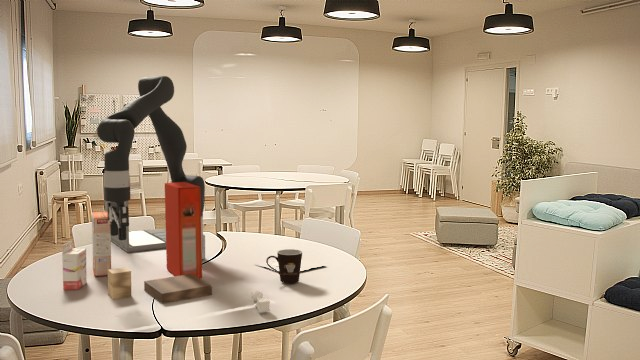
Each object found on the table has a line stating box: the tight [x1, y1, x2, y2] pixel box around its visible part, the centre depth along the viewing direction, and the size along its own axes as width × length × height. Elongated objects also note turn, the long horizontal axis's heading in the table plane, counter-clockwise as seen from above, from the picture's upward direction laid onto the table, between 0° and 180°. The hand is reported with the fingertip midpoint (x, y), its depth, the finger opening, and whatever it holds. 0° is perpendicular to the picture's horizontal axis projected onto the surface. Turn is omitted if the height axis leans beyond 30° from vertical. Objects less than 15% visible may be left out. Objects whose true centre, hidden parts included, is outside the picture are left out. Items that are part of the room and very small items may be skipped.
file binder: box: [164, 182, 203, 279], centre depth 196 cm, size 8×17×32 cm, turn 30°
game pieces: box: [250, 290, 271, 313], centre depth 164 cm, size 12×3×3 cm, turn 18°
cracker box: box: [91, 211, 112, 277], centre depth 199 cm, size 14×6×21 cm, turn 24°
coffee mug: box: [265, 248, 303, 284], centre depth 191 cm, size 12×9×10 cm
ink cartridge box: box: [61, 239, 88, 291], centre depth 181 cm, size 9×5×15 cm, turn 5°
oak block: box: [107, 266, 133, 300], centre depth 172 cm, size 6×6×8 cm
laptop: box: [104, 200, 166, 253], centre depth 248 cm, size 35×26×28 cm
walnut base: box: [143, 274, 213, 304], centre depth 176 cm, size 16×16×3 cm
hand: (118, 237), depth 170 cm, fingers open, 8 cm apart
